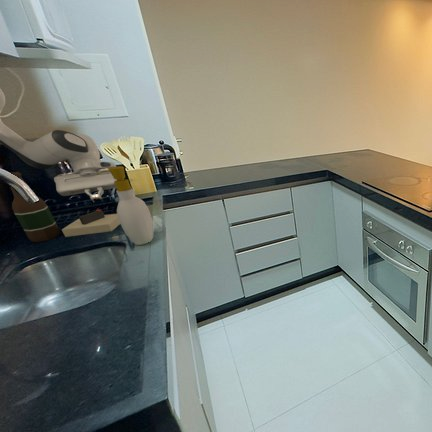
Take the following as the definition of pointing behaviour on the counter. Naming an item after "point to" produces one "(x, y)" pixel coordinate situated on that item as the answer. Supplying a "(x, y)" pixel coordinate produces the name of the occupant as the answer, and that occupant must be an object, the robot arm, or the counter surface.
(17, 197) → the beer bottle
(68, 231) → the beige flat block
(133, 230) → the soap bottle
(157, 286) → the counter surface
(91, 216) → the dark brown bar
